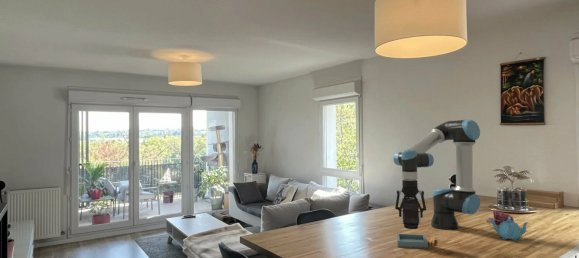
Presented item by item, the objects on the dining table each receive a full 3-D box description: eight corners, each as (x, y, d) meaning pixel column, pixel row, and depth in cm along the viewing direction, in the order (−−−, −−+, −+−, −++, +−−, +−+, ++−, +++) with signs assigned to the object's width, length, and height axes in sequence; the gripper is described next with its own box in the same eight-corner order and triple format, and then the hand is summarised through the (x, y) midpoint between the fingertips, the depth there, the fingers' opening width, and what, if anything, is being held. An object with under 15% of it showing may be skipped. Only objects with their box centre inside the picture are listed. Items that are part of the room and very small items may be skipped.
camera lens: (400, 226, 187) (399, 197, 187) (414, 225, 187) (414, 197, 188) (406, 229, 179) (405, 200, 179) (421, 229, 179) (421, 199, 180)
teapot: (530, 241, 182) (529, 221, 183) (508, 243, 180) (508, 223, 180) (510, 234, 195) (509, 216, 195) (489, 236, 192) (488, 218, 192)
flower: (481, 223, 209) (486, 208, 208) (488, 222, 220) (493, 207, 219) (509, 235, 199) (515, 218, 198) (514, 233, 209) (520, 217, 209)
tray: (425, 240, 188) (424, 234, 188) (428, 248, 174) (427, 242, 174) (396, 238, 192) (396, 233, 192) (397, 246, 178) (397, 240, 178)
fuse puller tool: (431, 239, 189) (430, 237, 189) (435, 240, 188) (435, 237, 188) (429, 245, 179) (429, 242, 179) (433, 245, 178) (433, 242, 178)
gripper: (430, 179, 184) (431, 222, 184) (389, 178, 190) (390, 220, 189) (431, 180, 177) (433, 226, 177) (389, 180, 183) (390, 224, 182)
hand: (410, 223), depth 183 cm, fingers closed on camera lens, 8 cm apart
